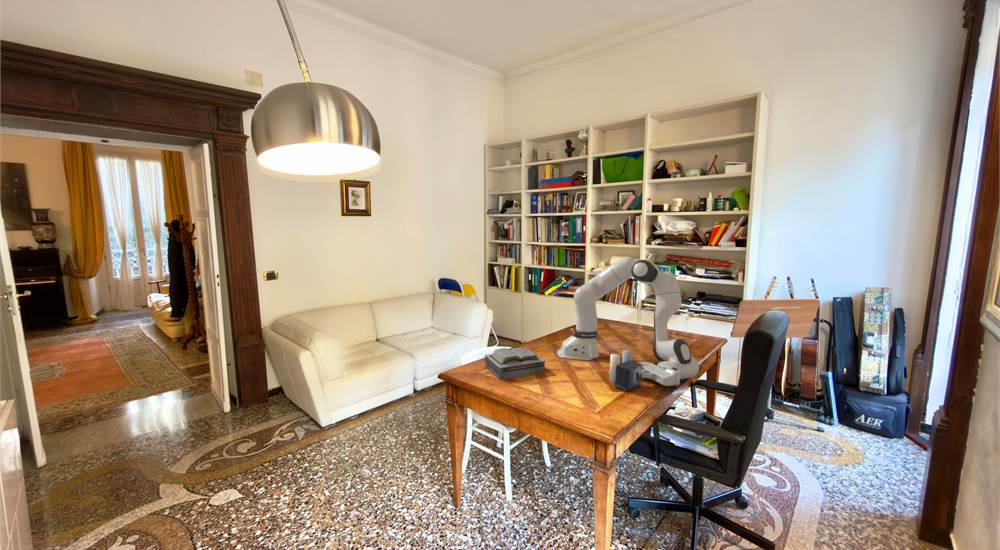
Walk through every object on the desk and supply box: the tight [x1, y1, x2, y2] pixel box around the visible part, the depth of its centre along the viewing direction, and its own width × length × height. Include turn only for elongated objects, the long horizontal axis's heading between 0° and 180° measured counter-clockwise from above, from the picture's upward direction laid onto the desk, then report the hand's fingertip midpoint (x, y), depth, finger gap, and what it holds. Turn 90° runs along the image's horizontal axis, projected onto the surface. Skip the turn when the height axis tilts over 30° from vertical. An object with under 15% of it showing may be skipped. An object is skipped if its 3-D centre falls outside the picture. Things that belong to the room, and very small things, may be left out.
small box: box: [614, 360, 642, 393], centre depth 174 cm, size 11×6×10 cm, turn 127°
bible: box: [484, 347, 546, 381], centre depth 196 cm, size 23×27×10 cm
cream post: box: [609, 353, 621, 383], centre depth 182 cm, size 4×4×12 cm
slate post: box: [621, 349, 633, 363], centre depth 187 cm, size 4×4×12 cm
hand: (640, 375), depth 176 cm, fingers closed
